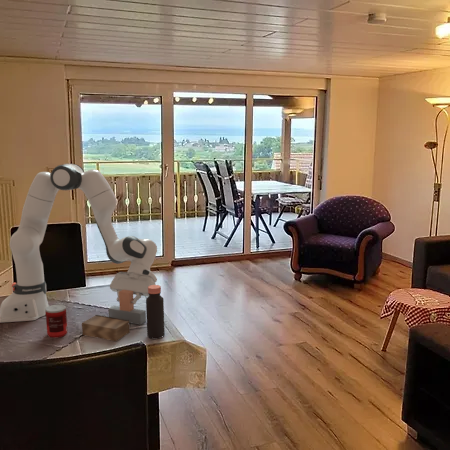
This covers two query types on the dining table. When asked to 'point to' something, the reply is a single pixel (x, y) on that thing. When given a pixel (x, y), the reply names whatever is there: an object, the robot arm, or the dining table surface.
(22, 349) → the dining table surface
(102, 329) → the block
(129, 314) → the stub
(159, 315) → the bottle
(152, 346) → the dining table surface
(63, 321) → the canned food
